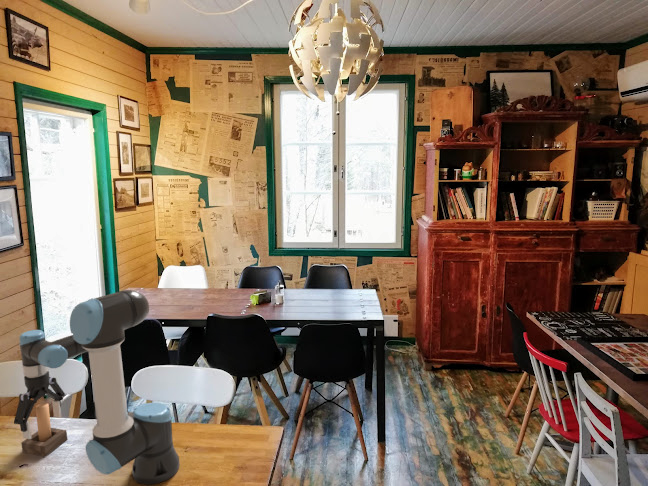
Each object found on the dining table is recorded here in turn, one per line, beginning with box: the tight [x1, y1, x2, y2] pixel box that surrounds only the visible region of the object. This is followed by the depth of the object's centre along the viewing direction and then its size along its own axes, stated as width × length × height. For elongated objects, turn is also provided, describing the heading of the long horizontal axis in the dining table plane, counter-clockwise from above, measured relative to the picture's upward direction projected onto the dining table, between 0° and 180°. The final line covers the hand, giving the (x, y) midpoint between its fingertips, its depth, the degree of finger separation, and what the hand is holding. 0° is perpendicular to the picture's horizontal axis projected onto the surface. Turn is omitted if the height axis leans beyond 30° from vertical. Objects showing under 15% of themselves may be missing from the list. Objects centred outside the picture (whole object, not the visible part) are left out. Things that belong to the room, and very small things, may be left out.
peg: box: [35, 402, 52, 442], centre depth 167 cm, size 4×4×16 cm
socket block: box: [20, 427, 68, 458], centre depth 168 cm, size 10×10×4 cm
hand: (43, 427), depth 167 cm, fingers open, 13 cm apart
